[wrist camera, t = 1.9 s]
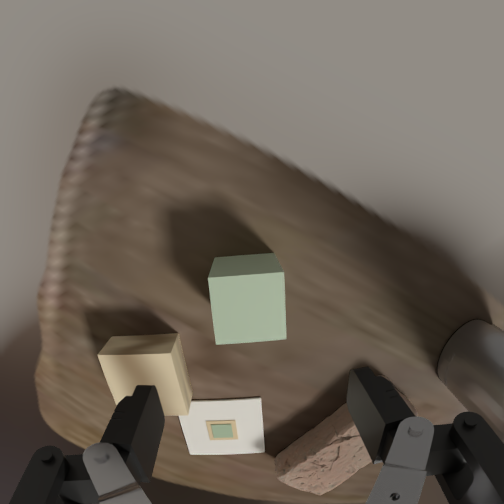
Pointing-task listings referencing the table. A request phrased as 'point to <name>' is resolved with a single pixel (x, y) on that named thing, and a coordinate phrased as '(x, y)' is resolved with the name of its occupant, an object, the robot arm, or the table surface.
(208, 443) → the page
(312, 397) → the table surface
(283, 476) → the brick
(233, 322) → the green block
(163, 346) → the base block
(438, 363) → the robot arm
